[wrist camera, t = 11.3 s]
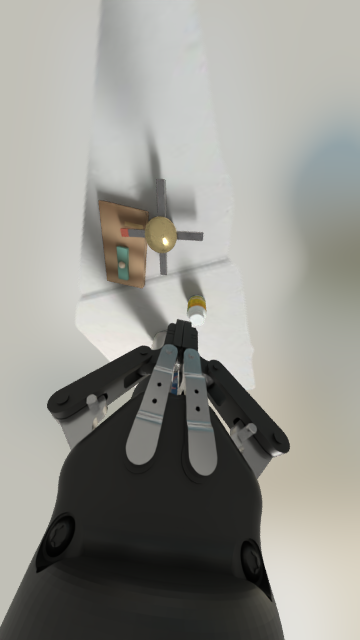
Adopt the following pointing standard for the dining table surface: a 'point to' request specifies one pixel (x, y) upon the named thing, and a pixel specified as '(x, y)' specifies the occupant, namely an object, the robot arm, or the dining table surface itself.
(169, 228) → the capstan
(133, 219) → the stand
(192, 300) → the supplement bottle
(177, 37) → the dining table surface
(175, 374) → the soda can
